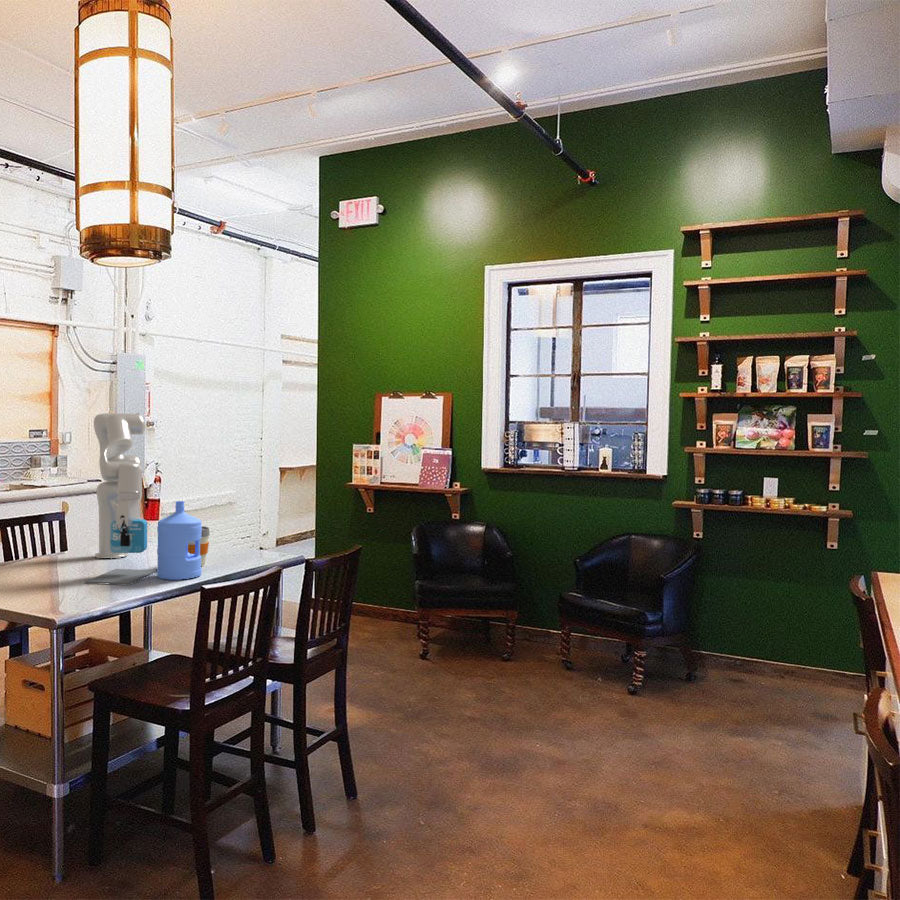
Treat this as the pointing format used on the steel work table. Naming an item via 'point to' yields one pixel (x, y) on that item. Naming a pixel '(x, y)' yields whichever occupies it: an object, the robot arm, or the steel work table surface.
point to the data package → (136, 537)
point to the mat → (121, 576)
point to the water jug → (178, 545)
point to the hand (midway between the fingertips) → (129, 544)
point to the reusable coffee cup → (201, 545)
